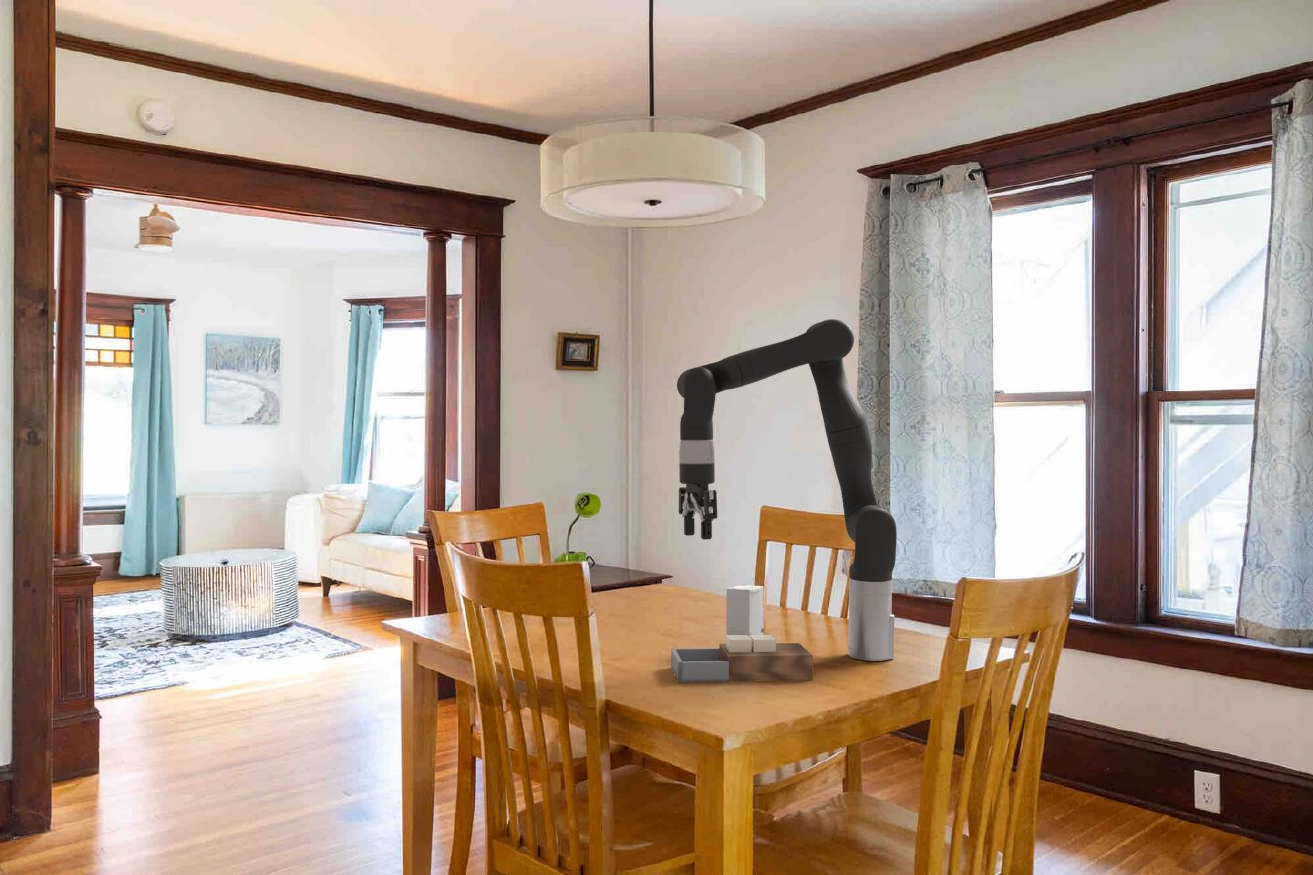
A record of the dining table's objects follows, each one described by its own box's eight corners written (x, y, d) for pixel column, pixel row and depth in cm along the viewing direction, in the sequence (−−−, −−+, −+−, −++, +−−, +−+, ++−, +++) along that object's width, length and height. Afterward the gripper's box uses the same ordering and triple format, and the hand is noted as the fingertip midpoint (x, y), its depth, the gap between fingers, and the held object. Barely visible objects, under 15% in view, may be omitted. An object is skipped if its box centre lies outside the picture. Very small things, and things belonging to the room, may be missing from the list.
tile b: (747, 646, 196) (747, 634, 196) (751, 652, 192) (751, 639, 192) (725, 647, 196) (725, 635, 196) (729, 652, 192) (729, 639, 192)
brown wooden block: (798, 666, 201) (798, 642, 201) (812, 680, 190) (812, 655, 190) (718, 667, 199) (719, 643, 199) (728, 681, 188) (728, 656, 188)
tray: (718, 667, 200) (718, 647, 200) (728, 682, 188) (728, 661, 188) (671, 667, 199) (671, 648, 199) (678, 682, 187) (678, 662, 187)
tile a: (770, 646, 197) (771, 634, 197) (775, 651, 192) (775, 639, 192) (749, 646, 197) (749, 634, 196) (753, 652, 192) (754, 639, 192)
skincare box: (749, 658, 208) (750, 590, 208) (724, 654, 211) (725, 587, 211) (764, 650, 215) (765, 585, 215) (740, 647, 218) (741, 582, 218)
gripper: (727, 461, 198) (728, 539, 198) (698, 460, 211) (699, 533, 211) (695, 462, 195) (696, 541, 195) (667, 460, 208) (668, 534, 209)
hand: (697, 537), depth 203 cm, fingers open, 8 cm apart
